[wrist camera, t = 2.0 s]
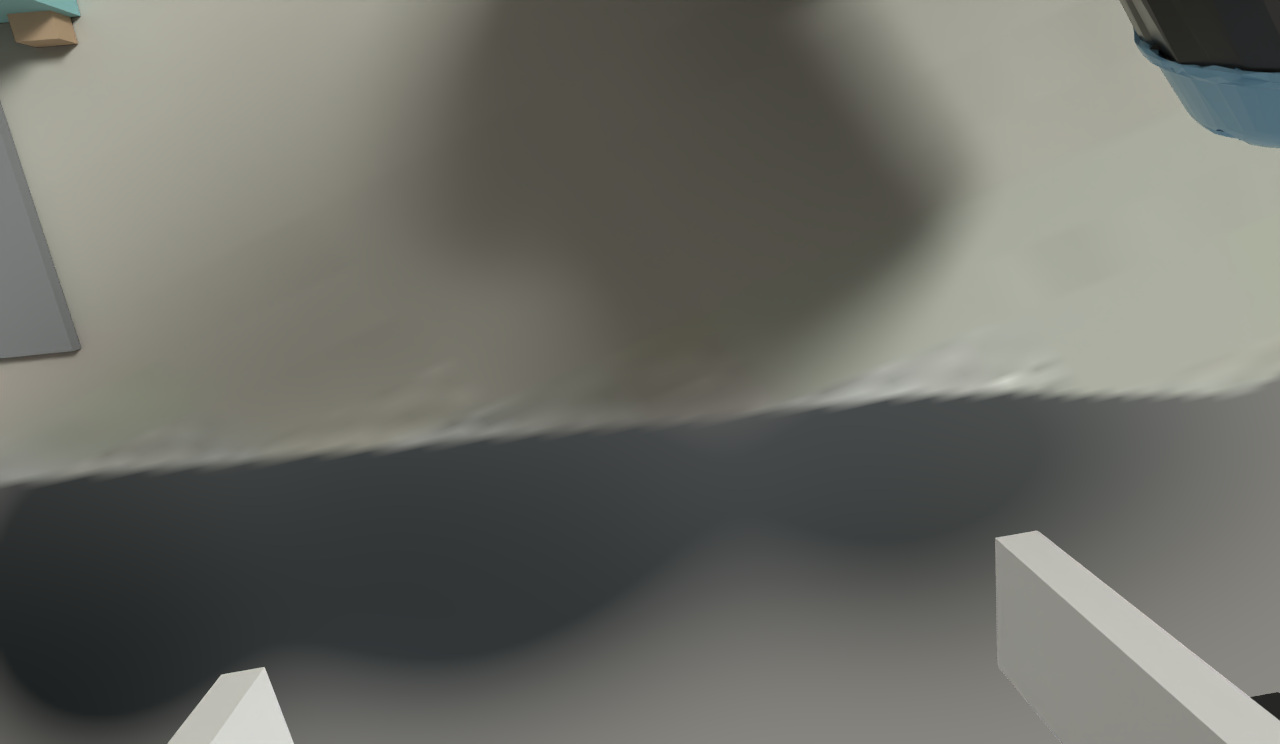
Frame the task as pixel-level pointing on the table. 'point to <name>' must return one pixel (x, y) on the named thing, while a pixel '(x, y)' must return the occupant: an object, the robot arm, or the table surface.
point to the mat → (27, 269)
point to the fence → (40, 21)
